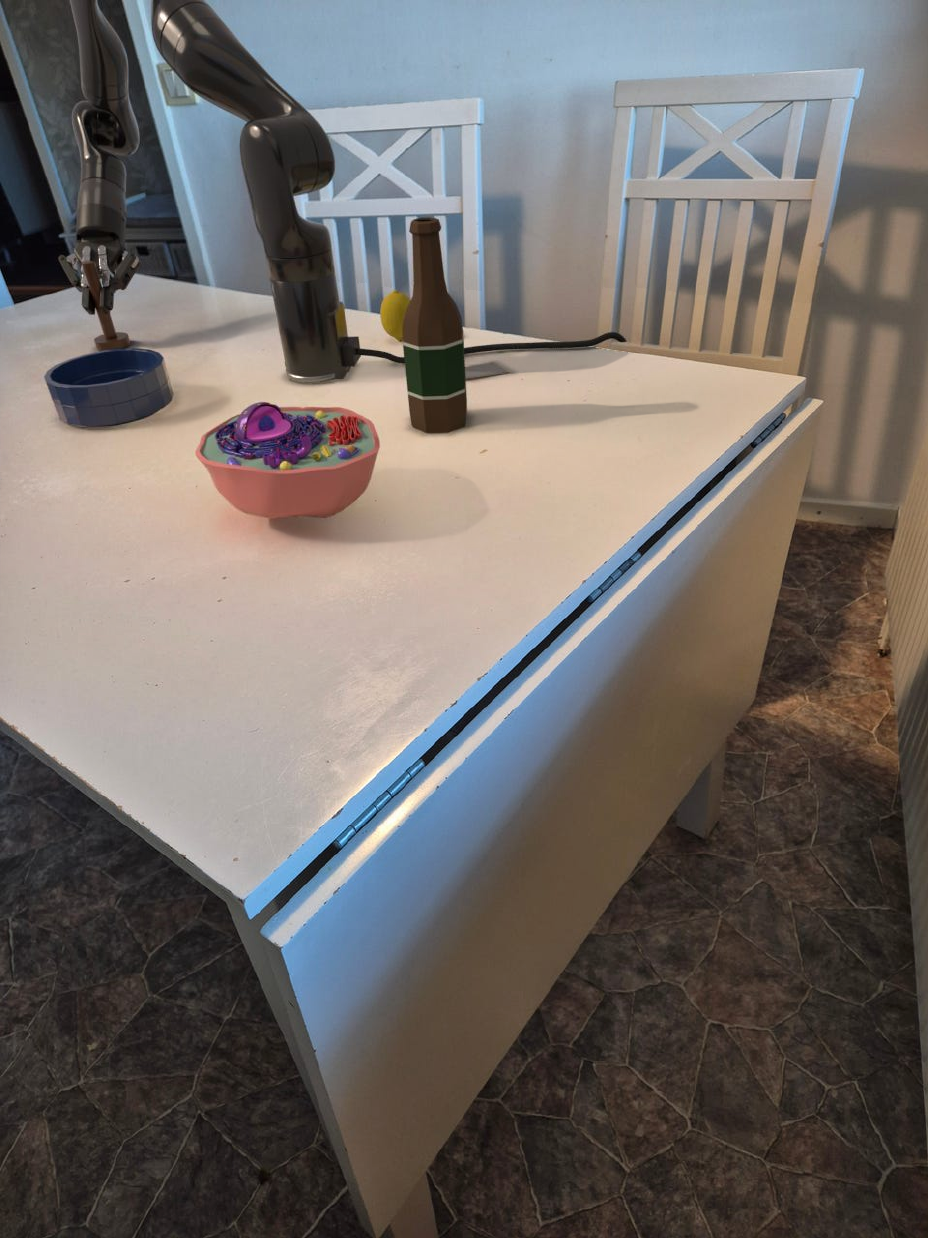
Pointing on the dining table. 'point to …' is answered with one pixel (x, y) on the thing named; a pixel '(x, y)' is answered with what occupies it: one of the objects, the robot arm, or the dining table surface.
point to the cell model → (291, 459)
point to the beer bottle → (433, 339)
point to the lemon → (394, 313)
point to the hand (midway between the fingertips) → (97, 311)
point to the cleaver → (483, 370)
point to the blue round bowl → (110, 387)
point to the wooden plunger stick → (109, 336)
